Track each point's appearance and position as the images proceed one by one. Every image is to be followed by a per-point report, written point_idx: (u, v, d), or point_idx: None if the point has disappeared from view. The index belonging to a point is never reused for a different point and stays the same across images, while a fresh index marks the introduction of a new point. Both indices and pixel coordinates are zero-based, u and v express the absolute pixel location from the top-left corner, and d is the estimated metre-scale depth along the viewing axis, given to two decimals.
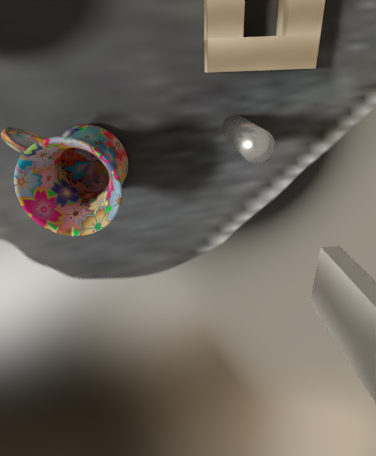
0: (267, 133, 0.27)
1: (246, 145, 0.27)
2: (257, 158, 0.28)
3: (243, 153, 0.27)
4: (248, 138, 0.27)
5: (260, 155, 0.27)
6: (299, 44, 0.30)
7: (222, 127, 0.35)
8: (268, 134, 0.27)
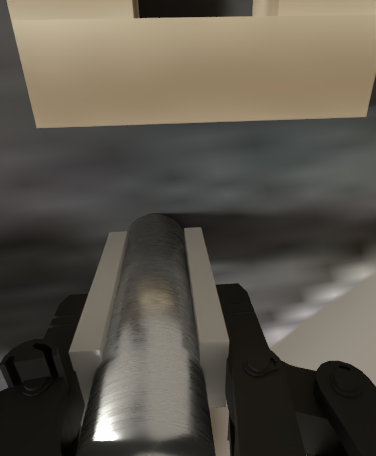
0: (180, 435, 0.06)
1: None
2: None
3: None
4: (96, 453, 0.06)
5: None
6: (321, 46, 0.09)
7: None
8: (187, 437, 0.06)
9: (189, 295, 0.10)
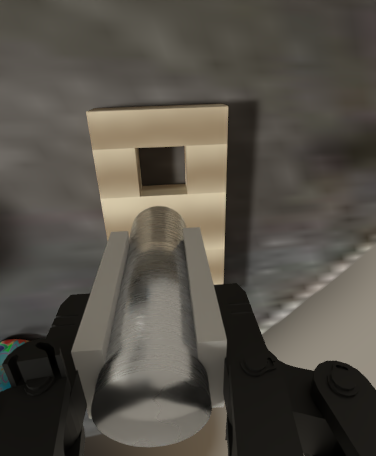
0: (182, 380, 0.07)
1: (109, 411, 0.07)
2: (154, 437, 0.08)
3: (104, 428, 0.08)
4: (111, 395, 0.07)
5: (165, 429, 0.08)
6: None
7: None
8: (188, 382, 0.07)
9: None
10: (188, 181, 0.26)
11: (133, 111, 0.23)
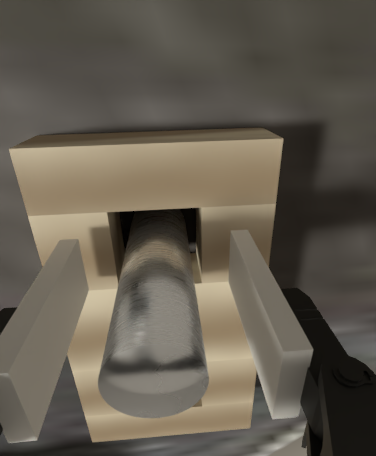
0: (180, 353, 0.08)
1: (115, 383, 0.08)
2: (157, 408, 0.09)
3: (110, 400, 0.08)
4: (116, 368, 0.08)
5: (166, 401, 0.09)
6: (223, 412, 0.20)
7: None
8: (186, 355, 0.08)
9: (188, 263, 0.12)
10: (203, 264, 0.15)
11: (102, 148, 0.12)
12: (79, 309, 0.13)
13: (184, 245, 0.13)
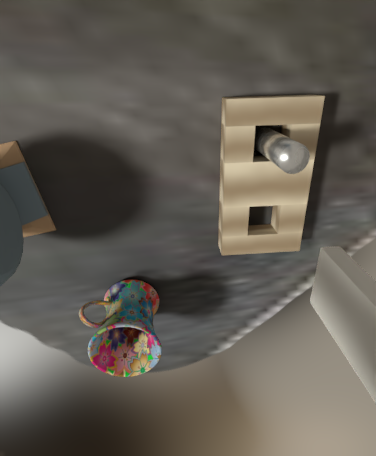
0: (303, 147, 0.29)
1: (284, 157, 0.29)
2: (293, 169, 0.30)
3: (281, 165, 0.30)
4: (286, 151, 0.29)
5: (296, 166, 0.30)
6: (287, 238, 0.42)
7: None
8: (305, 148, 0.29)
9: None
10: None
11: (259, 99, 0.33)
12: None
13: None
